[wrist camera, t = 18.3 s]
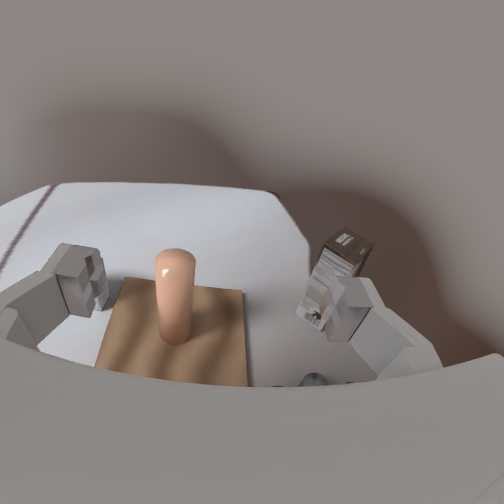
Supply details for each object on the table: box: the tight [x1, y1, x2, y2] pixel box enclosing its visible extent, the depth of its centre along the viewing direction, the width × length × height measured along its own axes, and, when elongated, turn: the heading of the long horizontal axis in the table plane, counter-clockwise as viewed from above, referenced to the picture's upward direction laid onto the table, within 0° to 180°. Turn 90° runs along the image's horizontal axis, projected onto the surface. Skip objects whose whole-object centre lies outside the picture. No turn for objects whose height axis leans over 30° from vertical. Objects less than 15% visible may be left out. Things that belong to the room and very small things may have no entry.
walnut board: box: [95, 277, 248, 387], centre depth 41 cm, size 22×22×1 cm
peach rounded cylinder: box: [155, 249, 196, 345], centre depth 37 cm, size 5×5×14 cm
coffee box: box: [295, 227, 374, 332], centre depth 47 cm, size 9×6×16 cm
